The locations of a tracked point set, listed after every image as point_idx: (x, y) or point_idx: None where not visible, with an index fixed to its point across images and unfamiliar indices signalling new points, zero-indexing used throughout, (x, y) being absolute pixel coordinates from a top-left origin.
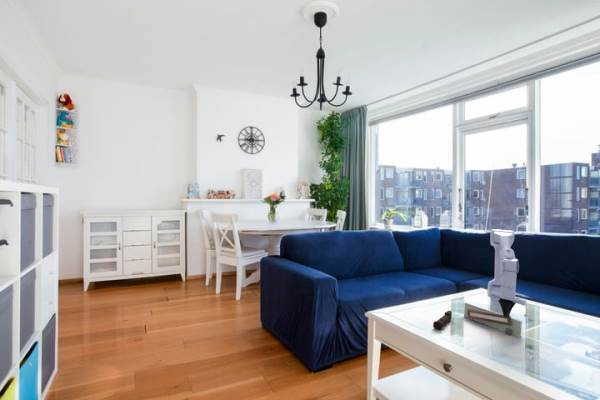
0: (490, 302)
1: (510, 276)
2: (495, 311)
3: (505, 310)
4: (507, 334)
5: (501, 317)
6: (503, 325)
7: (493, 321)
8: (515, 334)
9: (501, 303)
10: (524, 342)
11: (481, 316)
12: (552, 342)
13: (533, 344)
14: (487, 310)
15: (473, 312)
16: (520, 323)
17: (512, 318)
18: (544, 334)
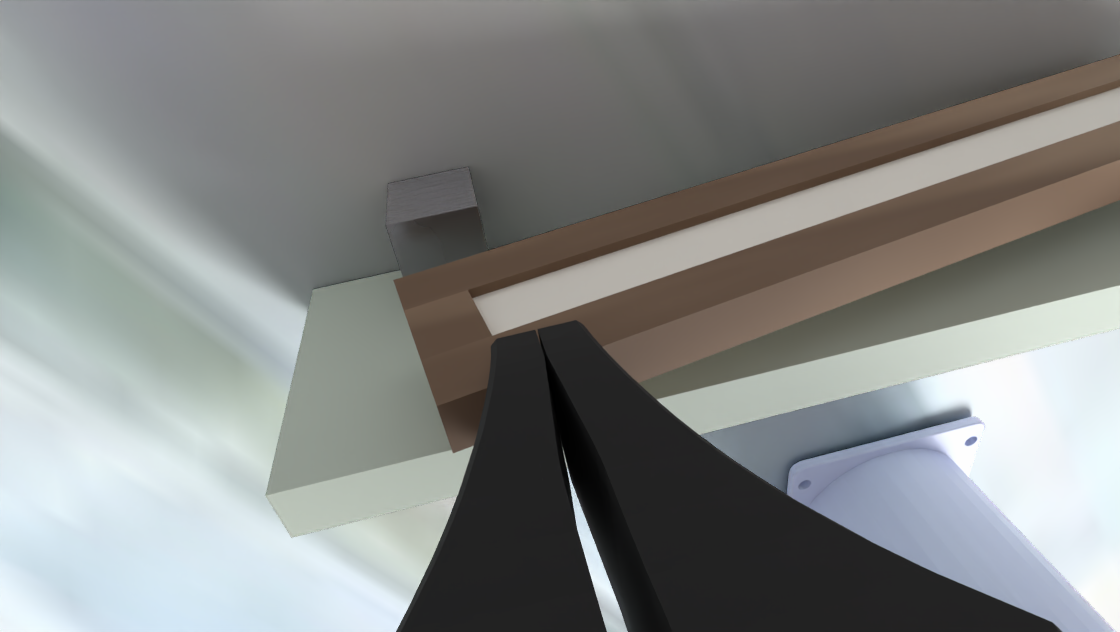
0: (1081, 597)
1: None
2: (922, 519)
3: (541, 452)
4: (431, 177)
5: (629, 295)
6: None
7: (741, 183)
8: (375, 286)
9: (818, 622)
10: (96, 197)
11: (995, 142)
12: (119, 556)
13: (14, 280)
14: (1017, 304)
15: None
16: (276, 460)
17: (462, 457)
18: (353, 613)
